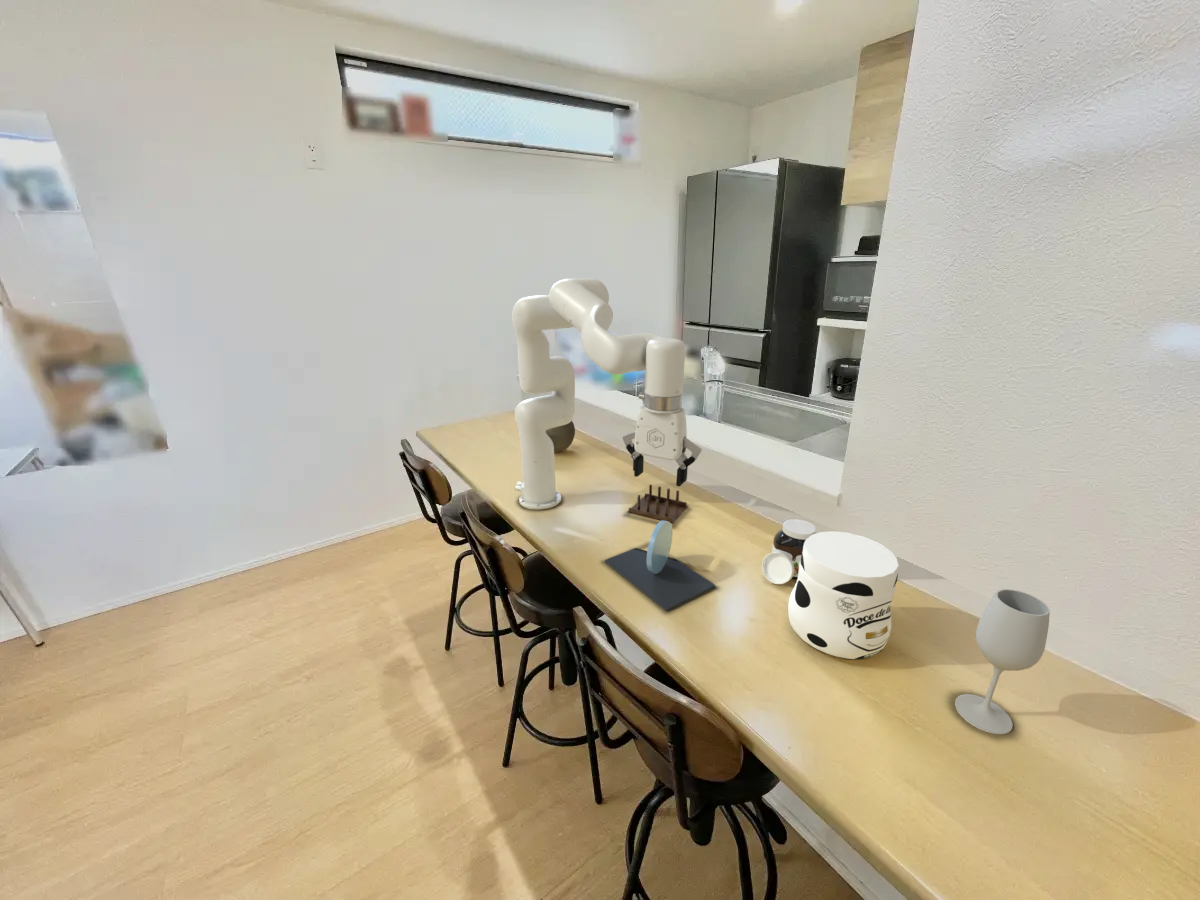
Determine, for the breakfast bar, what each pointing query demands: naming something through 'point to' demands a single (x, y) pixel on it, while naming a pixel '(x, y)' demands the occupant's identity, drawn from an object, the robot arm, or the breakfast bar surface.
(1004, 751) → the breakfast bar surface
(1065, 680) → the breakfast bar surface
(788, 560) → the spread jar
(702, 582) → the mat
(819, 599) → the milk container
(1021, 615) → the wineglass
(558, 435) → the dark grey ball
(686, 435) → the robot arm
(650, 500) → the rack
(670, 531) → the plate
